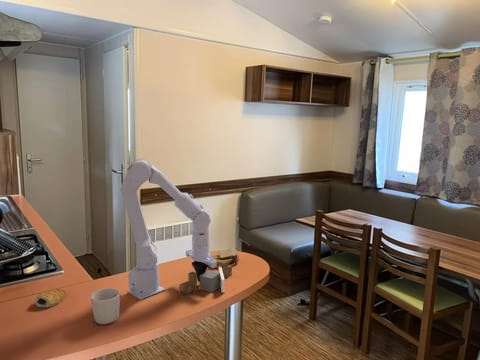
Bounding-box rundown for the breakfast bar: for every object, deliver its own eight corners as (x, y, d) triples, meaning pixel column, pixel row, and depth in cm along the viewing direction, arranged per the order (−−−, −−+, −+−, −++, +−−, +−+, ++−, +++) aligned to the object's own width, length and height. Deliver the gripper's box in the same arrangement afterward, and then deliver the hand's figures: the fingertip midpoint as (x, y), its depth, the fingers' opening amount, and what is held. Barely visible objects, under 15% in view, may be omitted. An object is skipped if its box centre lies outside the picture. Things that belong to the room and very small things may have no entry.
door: (224, 292, 123) (224, 278, 122) (221, 292, 123) (221, 278, 122) (221, 277, 134) (221, 264, 133) (218, 277, 134) (218, 264, 133)
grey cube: (211, 292, 124) (211, 278, 123) (199, 289, 126) (199, 275, 125) (220, 286, 128) (220, 273, 127) (208, 283, 131) (208, 269, 130)
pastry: (55, 292, 123) (54, 282, 123) (72, 295, 122) (71, 284, 121) (32, 306, 115) (31, 295, 114) (50, 310, 113) (49, 298, 112)
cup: (83, 315, 109) (81, 290, 108) (109, 306, 115) (108, 281, 113) (99, 330, 102) (97, 303, 100) (126, 319, 107) (125, 294, 106)
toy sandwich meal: (205, 257, 154) (205, 246, 153) (238, 257, 155) (238, 246, 154) (204, 270, 142) (204, 258, 141) (239, 269, 143) (239, 258, 142)
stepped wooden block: (182, 295, 121) (182, 278, 120) (178, 293, 123) (178, 276, 122) (232, 275, 137) (232, 260, 136) (228, 273, 138) (228, 258, 137)
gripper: (223, 246, 124) (223, 284, 127) (196, 235, 135) (197, 271, 137) (207, 251, 119) (207, 290, 122) (180, 240, 130) (181, 276, 132)
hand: (201, 280), depth 129 cm, fingers closed
